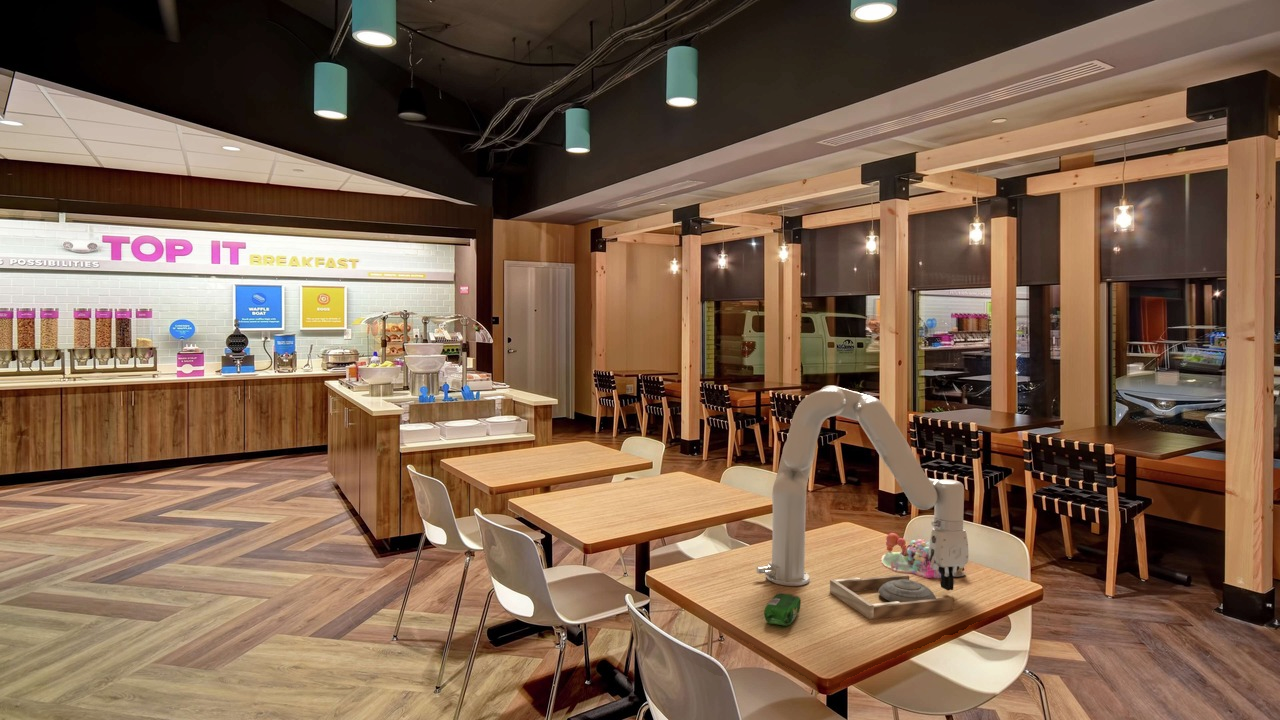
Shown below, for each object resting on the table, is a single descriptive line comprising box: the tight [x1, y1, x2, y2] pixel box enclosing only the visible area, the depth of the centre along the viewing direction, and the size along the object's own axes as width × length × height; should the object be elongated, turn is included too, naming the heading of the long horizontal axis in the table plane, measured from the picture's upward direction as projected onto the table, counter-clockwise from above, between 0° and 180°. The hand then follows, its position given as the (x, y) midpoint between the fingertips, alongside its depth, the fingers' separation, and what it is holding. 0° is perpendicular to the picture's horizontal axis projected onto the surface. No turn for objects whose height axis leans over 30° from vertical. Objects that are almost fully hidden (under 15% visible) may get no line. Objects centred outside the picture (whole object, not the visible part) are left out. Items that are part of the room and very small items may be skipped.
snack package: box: [763, 592, 802, 627], centre depth 179 cm, size 7×16×5 cm, turn 153°
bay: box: [829, 573, 954, 620], centre depth 192 cm, size 25×19×4 cm
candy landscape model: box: [880, 532, 967, 580], centre depth 221 cm, size 25×24×9 cm
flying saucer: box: [877, 579, 937, 602], centre depth 194 cm, size 15×15×6 cm
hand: (947, 588), depth 197 cm, fingers closed
